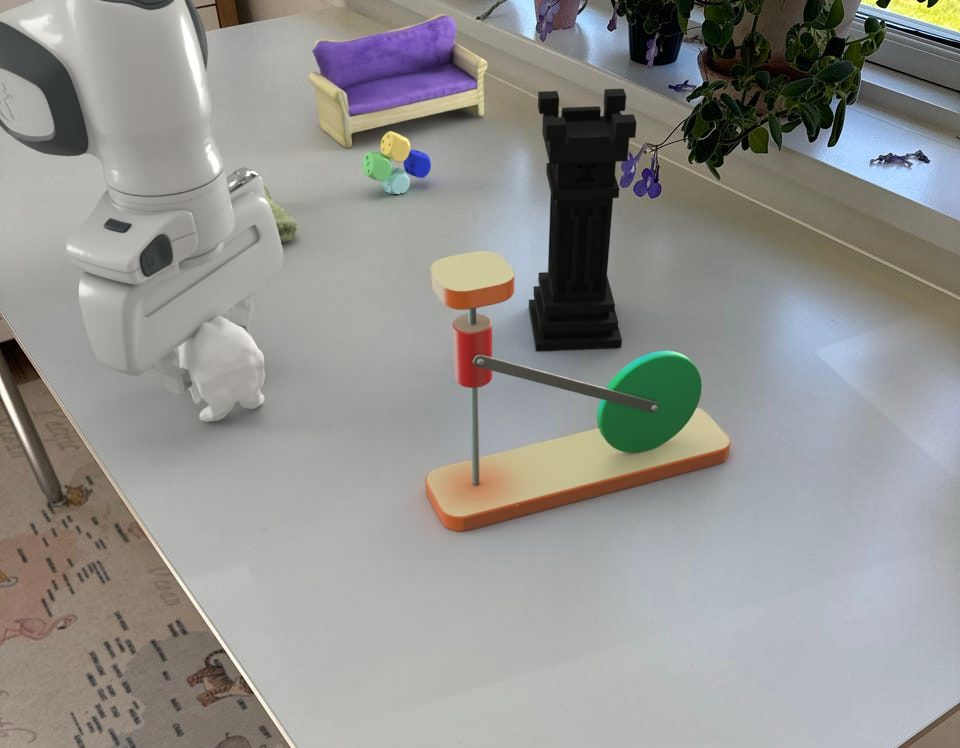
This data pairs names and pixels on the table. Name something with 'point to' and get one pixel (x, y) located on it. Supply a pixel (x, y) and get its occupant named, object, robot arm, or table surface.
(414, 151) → the dice
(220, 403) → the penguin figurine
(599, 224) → the chess piece
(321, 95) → the toy sofa
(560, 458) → the crank mechanism
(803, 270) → the table surface
